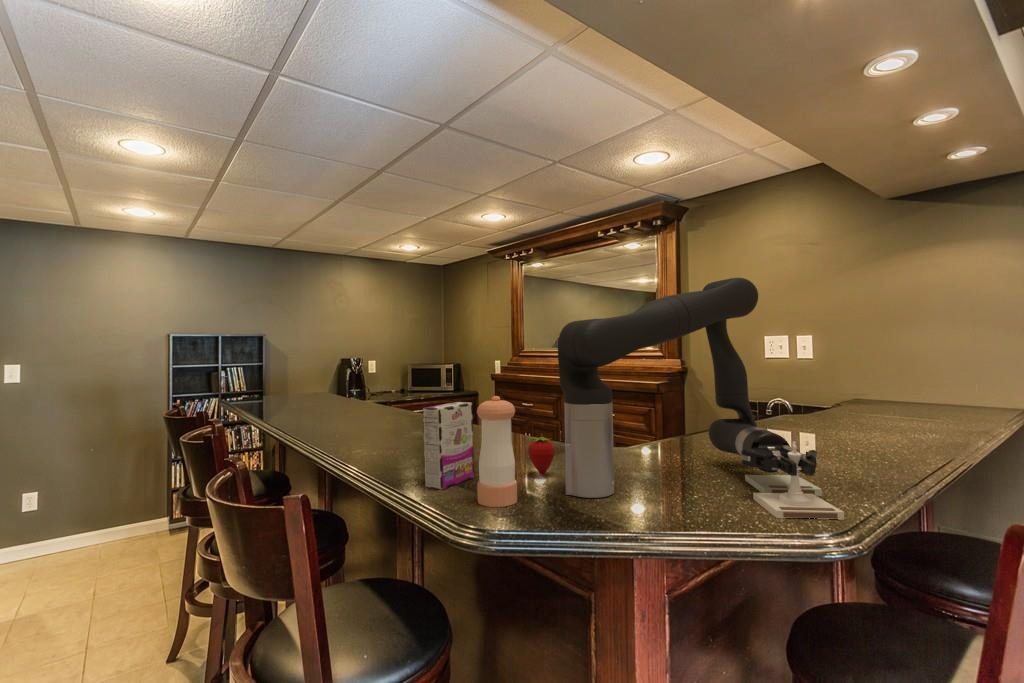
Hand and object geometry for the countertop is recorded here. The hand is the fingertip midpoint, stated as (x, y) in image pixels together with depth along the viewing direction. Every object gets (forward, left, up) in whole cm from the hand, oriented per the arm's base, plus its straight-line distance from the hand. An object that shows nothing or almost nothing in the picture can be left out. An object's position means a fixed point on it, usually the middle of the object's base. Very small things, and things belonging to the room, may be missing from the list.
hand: (803, 469), depth 79 cm
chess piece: (0, +3, -6) cm, 7 cm away
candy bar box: (-63, +16, -7) cm, 65 cm away
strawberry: (-44, +23, -7) cm, 50 cm away
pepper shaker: (-51, +4, -7) cm, 52 cm away
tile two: (+3, +16, -7) cm, 18 cm away
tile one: (0, +3, -7) cm, 8 cm away
